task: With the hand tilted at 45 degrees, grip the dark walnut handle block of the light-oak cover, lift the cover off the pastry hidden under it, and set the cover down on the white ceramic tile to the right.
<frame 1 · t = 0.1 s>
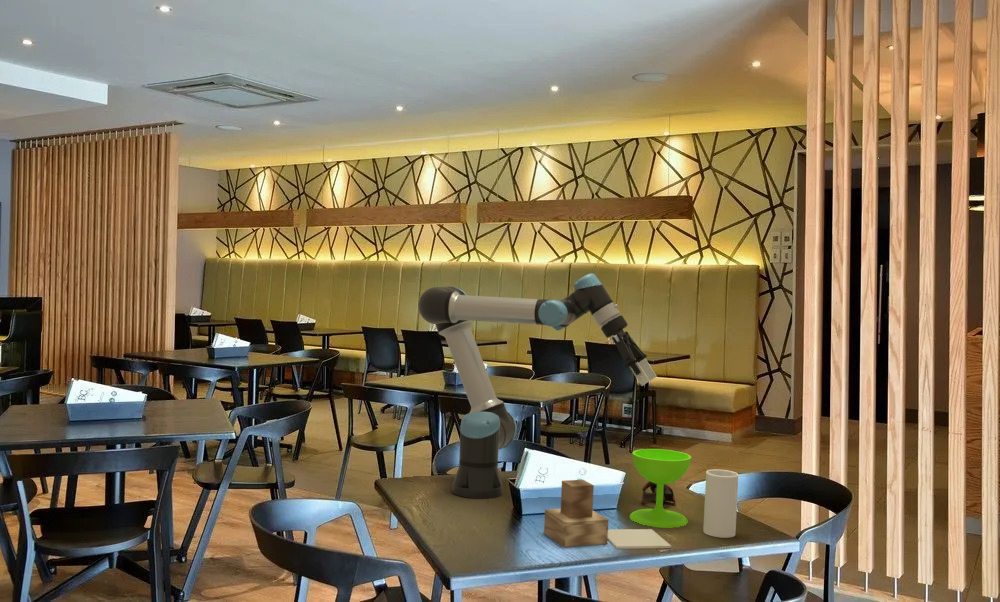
hand: (649, 381, 261), 36 cm above the table, tool tilted 35°, fingers open, 13 cm apart
tile: (634, 539, 223), on the table
pastry: (575, 539, 222), on the table
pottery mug: (657, 504, 261), on the table
wineglass: (658, 520, 243), on the table
cup: (719, 533, 232), on the table
cover: (575, 538, 222), on the table
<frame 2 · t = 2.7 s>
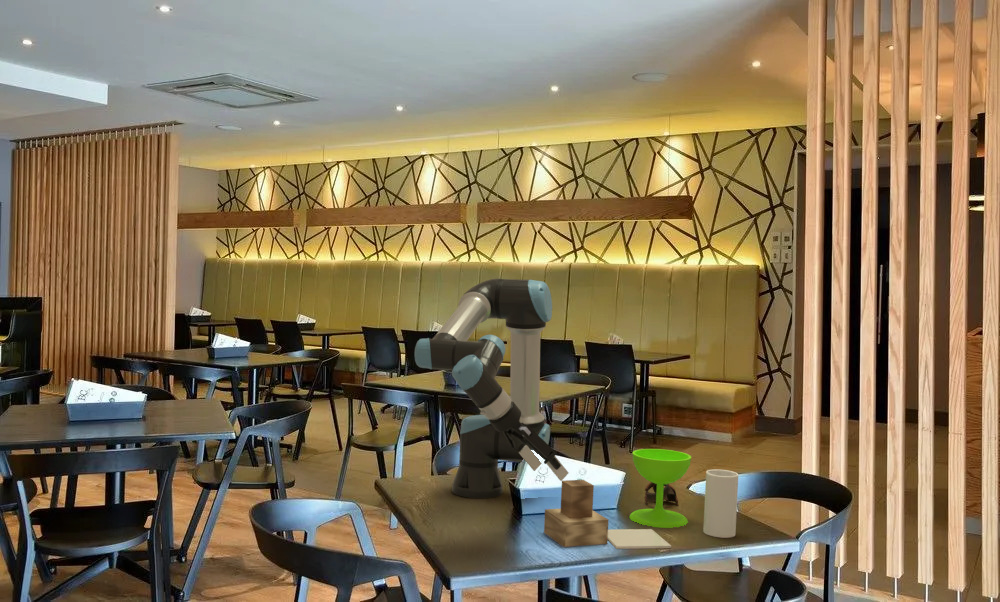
hand: (550, 471, 219), 17 cm above the table, tool tilted 45°, fingers open, 13 cm apart
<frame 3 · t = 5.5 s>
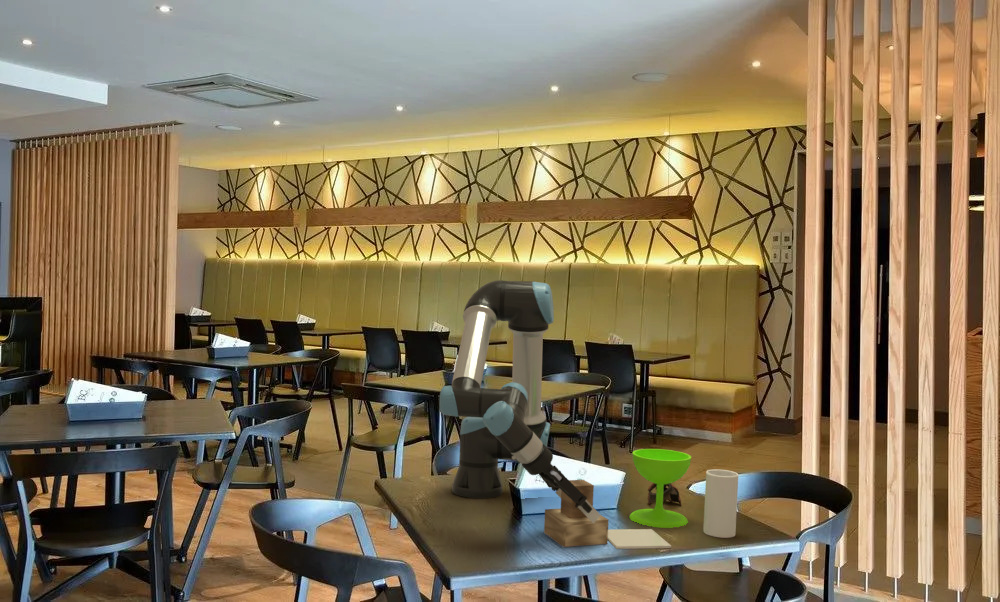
hand: (585, 512, 223), 6 cm above the table, tool tilted 45°, fingers closed on cover, 12 cm apart
cover: (575, 538, 222), on the table, touching gripper
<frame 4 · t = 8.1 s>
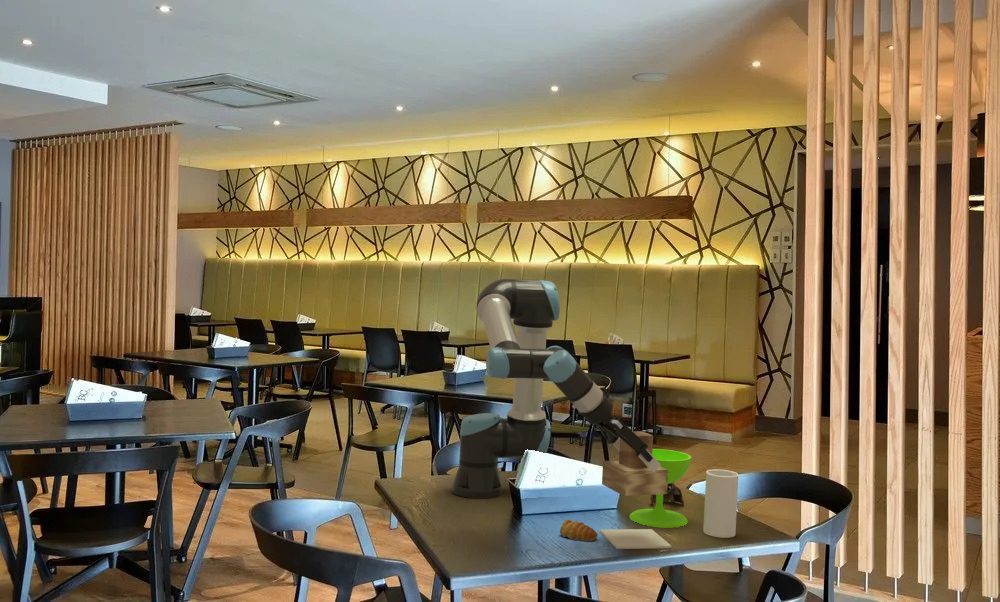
hand: (644, 463, 223), 20 cm above the table, tool tilted 45°, fingers closed on cover, 12 cm apart
cover: (633, 488, 222), point 13 cm above the table, touching gripper
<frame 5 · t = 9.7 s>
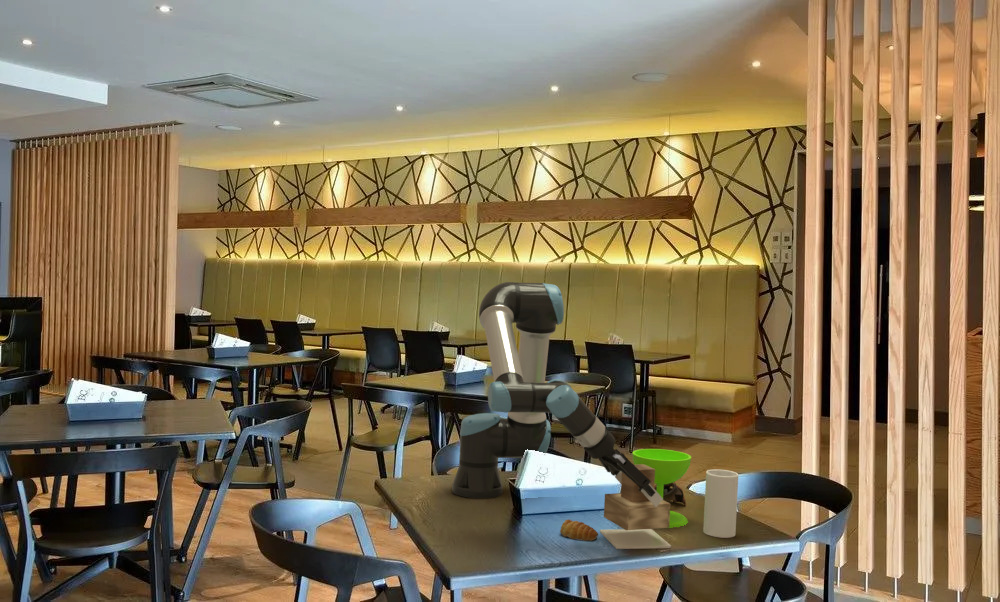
hand: (646, 496, 223), 11 cm above the table, tool tilted 45°, fingers closed on cover, 12 cm apart
cover: (635, 522, 222), point 5 cm above the table, touching gripper
when the fingers open (8 cm above the table, at t = 11.0 s): cover stays where it is, resting on tile.
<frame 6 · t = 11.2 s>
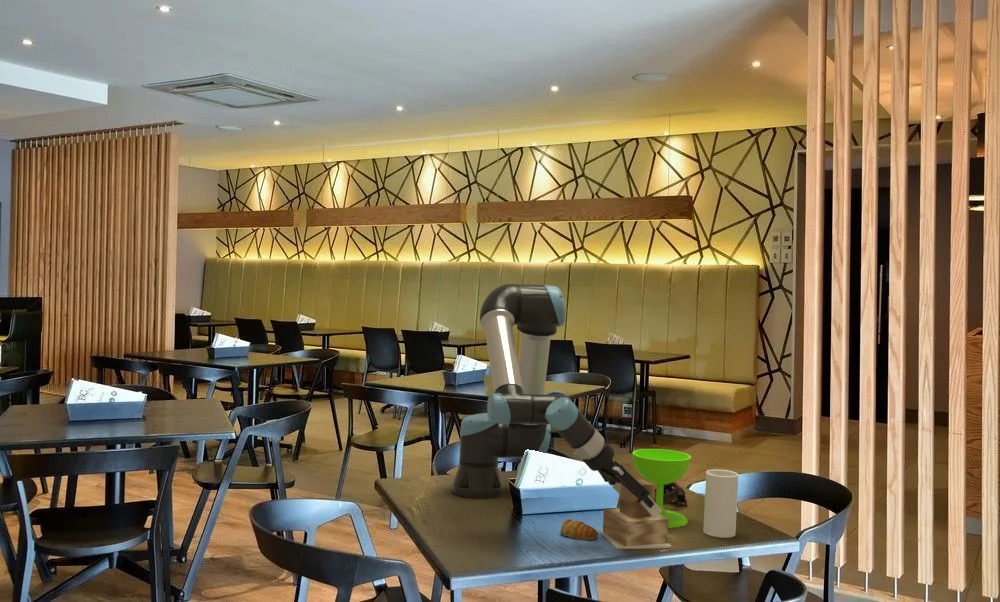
hand: (644, 507, 224), 8 cm above the table, tool tilted 45°, fingers open, 13 cm apart
cover: (634, 537, 223), point 1 cm above the table, touching tile
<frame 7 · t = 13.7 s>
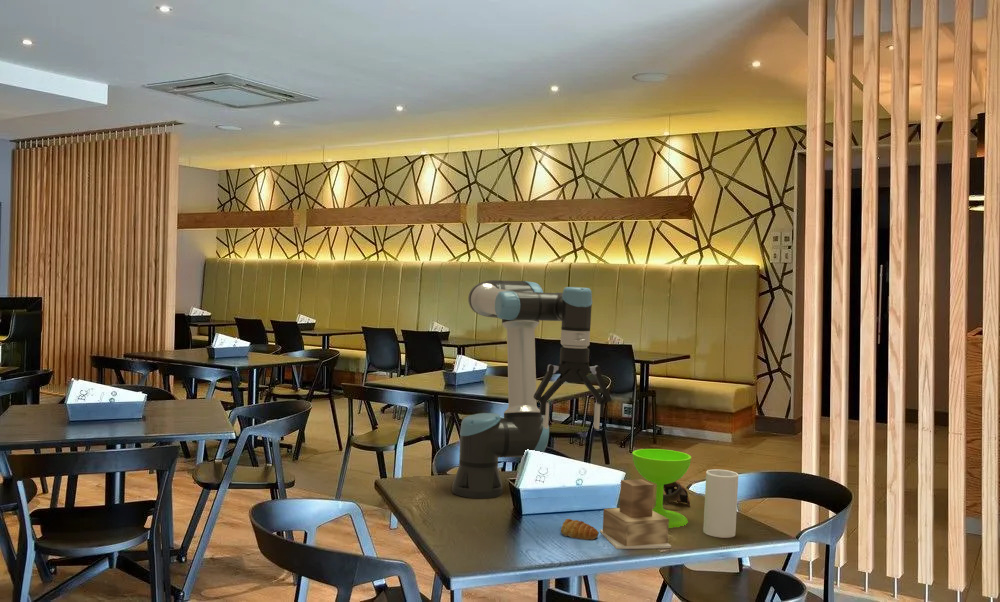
hand: (571, 428, 229), 26 cm above the table, tool pointing down, fingers open, 13 cm apart
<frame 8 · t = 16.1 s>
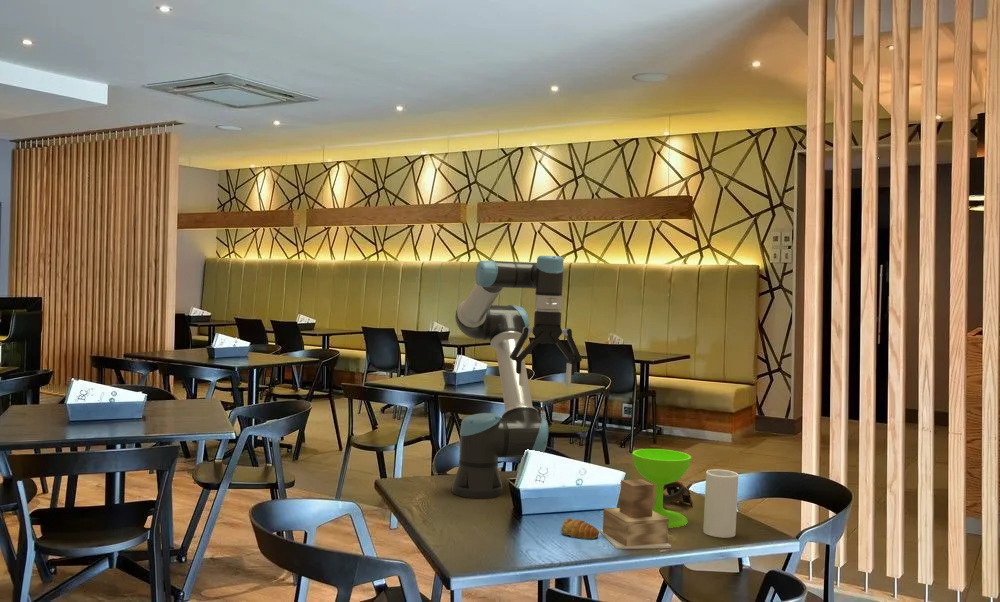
hand: (544, 386, 248), 35 cm above the table, tool pointing down, fingers open, 13 cm apart
at the end: cover inside the target area on the tile (0.1 cm from its centre), point 0.6 cm above the tile's base; cover tilted 0°; the gripper is holding nothing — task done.
